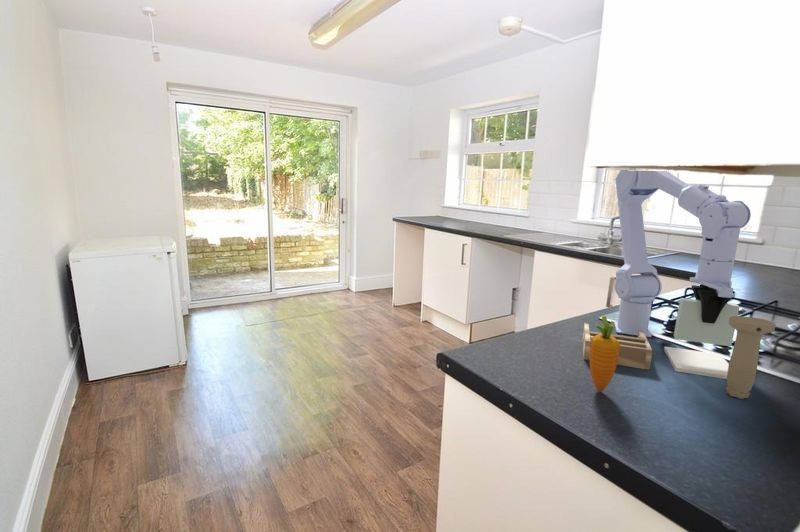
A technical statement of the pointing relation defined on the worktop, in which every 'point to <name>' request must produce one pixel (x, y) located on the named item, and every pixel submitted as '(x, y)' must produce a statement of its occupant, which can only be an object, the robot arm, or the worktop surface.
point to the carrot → (603, 355)
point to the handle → (745, 353)
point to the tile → (697, 362)
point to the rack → (624, 349)
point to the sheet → (704, 324)
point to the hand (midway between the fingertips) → (706, 320)
